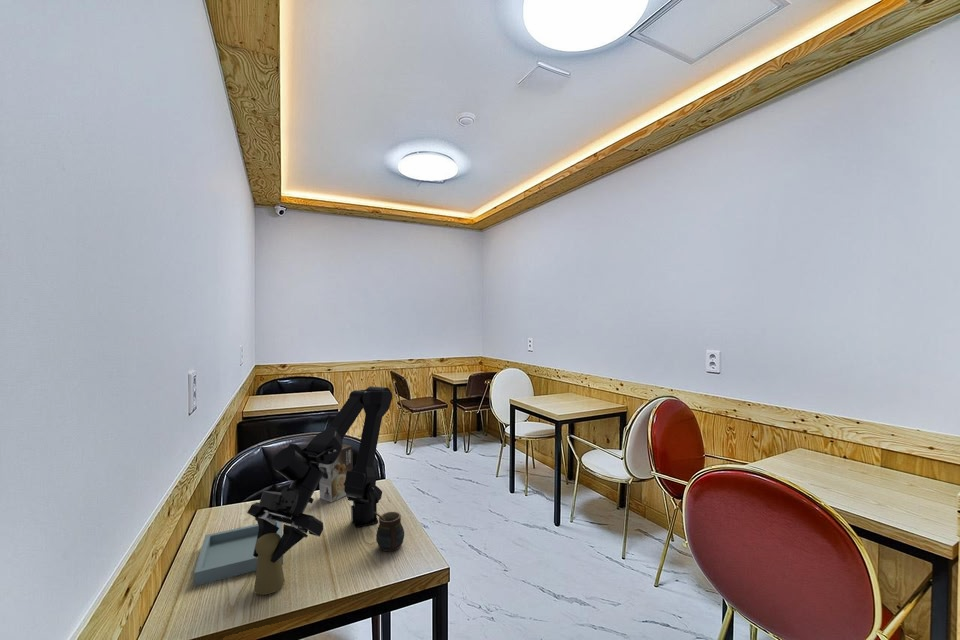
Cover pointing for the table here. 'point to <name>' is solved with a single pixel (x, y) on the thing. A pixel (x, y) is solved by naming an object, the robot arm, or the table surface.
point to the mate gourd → (390, 531)
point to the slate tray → (228, 554)
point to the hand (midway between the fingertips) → (263, 559)
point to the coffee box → (336, 475)
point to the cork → (268, 565)
